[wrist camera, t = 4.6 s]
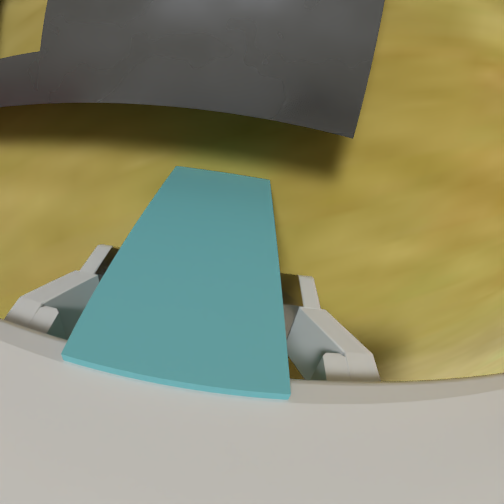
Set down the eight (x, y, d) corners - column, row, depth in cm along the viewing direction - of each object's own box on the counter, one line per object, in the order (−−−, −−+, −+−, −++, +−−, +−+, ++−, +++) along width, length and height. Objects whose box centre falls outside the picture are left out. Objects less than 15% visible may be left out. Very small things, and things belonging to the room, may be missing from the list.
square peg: (269, 180, 13) (291, 393, 5) (253, 257, 15) (250, 466, 7) (176, 165, 13) (60, 353, 5) (170, 245, 15) (103, 442, 7)
